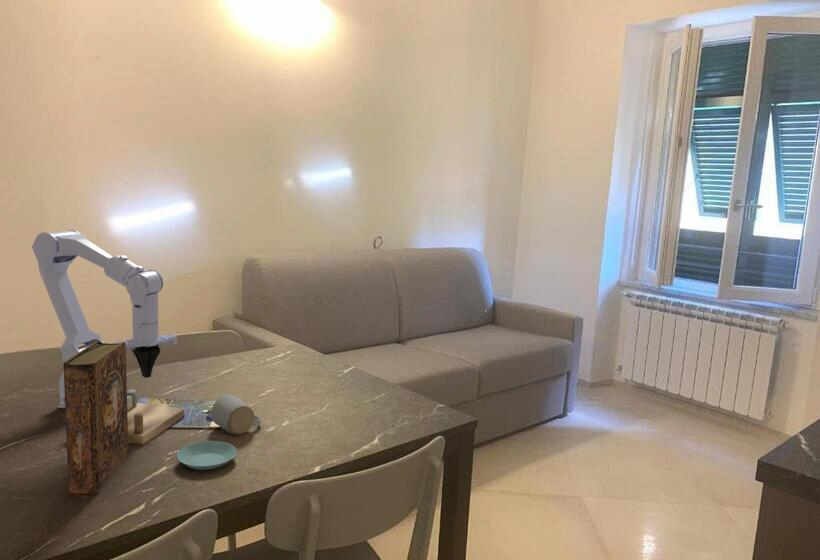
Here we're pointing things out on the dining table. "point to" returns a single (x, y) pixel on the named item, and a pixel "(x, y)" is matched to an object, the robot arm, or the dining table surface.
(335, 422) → the dining table surface
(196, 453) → the saucer
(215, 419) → the ceramic mug
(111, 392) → the book
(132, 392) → the leg
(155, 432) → the stool seat
